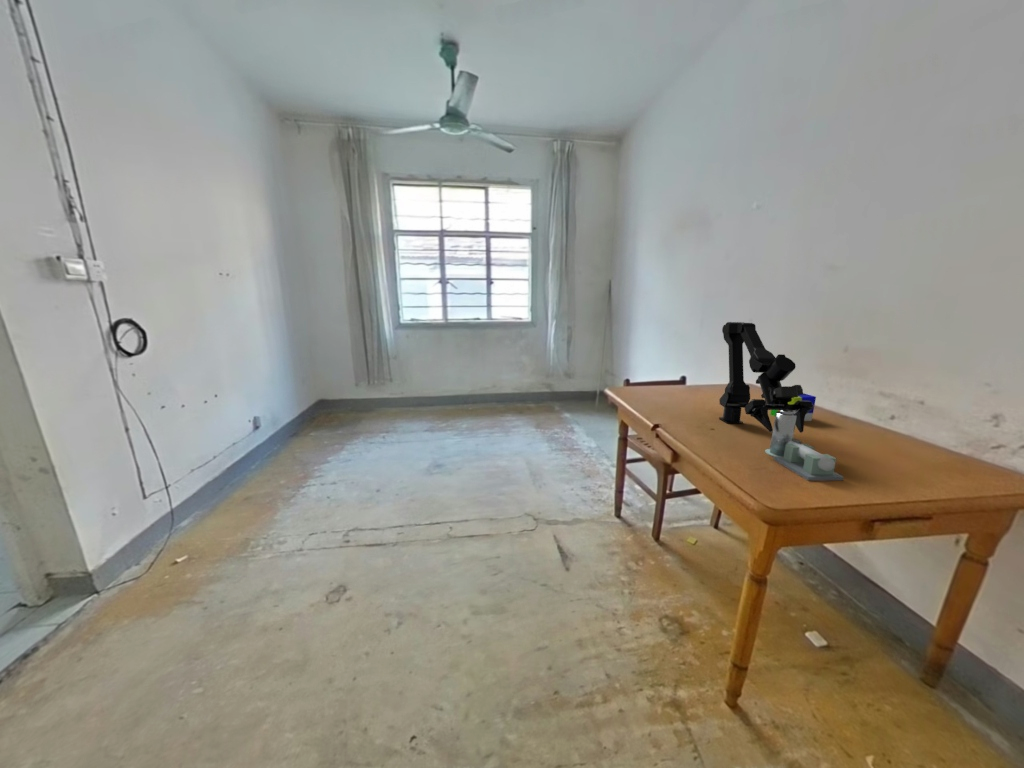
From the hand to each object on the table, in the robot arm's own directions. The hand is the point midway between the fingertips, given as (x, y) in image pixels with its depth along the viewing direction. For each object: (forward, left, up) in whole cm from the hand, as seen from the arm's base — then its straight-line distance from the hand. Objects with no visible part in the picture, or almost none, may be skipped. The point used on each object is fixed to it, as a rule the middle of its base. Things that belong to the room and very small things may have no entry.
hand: (786, 431), depth 127 cm
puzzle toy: (-39, +31, -8) cm, 51 cm away
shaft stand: (+10, 0, -8) cm, 13 cm away
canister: (-2, 0, -8) cm, 8 cm away
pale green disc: (-1, 0, -8) cm, 8 cm away
